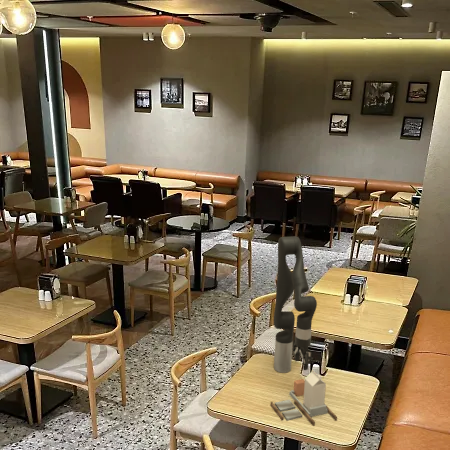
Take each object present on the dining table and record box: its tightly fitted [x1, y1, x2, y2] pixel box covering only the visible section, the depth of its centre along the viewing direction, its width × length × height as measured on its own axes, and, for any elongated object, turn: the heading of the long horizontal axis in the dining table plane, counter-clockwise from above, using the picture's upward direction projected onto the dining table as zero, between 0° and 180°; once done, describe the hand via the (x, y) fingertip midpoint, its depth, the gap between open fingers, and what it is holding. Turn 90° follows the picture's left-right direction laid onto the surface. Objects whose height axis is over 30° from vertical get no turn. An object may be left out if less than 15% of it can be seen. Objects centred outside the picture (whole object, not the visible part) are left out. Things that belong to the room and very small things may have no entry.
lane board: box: [269, 399, 338, 427], centre depth 225 cm, size 20×24×2 cm
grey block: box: [288, 378, 329, 418], centre depth 231 cm, size 20×10×7 cm, turn 20°
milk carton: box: [302, 369, 327, 411], centre depth 225 cm, size 7×7×19 cm
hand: (301, 365), depth 236 cm, fingers open, 8 cm apart
